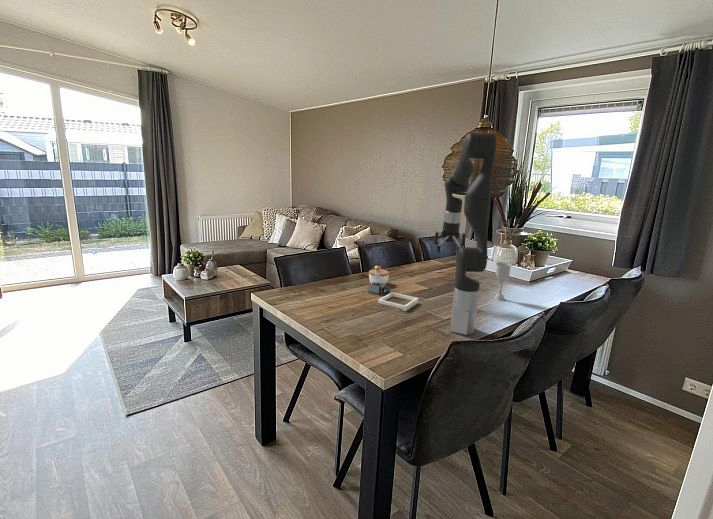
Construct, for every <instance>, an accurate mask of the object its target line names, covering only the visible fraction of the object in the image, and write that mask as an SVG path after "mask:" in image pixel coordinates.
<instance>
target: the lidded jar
mask: <svg viewBox="0 0 713 519" xmlns="http://www.w3.org/2000/svg"><path fill="white" fill-rule="evenodd" d="M389 275H390V271H388V270H386V269H382V268H381V269H380V279H379V283H383V284H385V285H387V283H388V281H389ZM368 280H369V282H370V284H371V283H373V282H375V269H374V268H373V269H370V270H368Z"/></svg>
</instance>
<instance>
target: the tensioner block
mask: <svg viewBox="0 0 713 519" xmlns="http://www.w3.org/2000/svg"><path fill="white" fill-rule="evenodd" d="M391 292H393V293H395V292H394V291H392V290H391V287H390V285H386V284H383V283H379V285H374V282H373V283H371V282H370V283H369V284H368V290H367V291H364V293H366V294H369V295H373V296H379V297H381V298H382V297H384V296H386V295H388V294H390V293H391Z"/></svg>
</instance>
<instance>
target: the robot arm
mask: <svg viewBox="0 0 713 519" xmlns="http://www.w3.org/2000/svg"><path fill="white" fill-rule="evenodd" d="M496 151H497V136H496V134H494V132H476V131H475V132H469V133H468V134H466V136H465V138H464V140H463V143H462V148H461V151H460V156H459V160H458V163H457V167H456V168H455V170H454V172H453V175H452V176H449V177H447V178H446V179H445V181H444V190H445V198H446V206H445V211H444V215H443V224H442V230H441V231H438V230H436V231H435V232H434V237H433V244H434V245H436V251H437V253H438V254H440V253H441V245H442V244H443V243H445V242H451V243H455V244H456V249H455V255H456V258H455V274H454V290H453V295H452V296H453V298H452V305H451V306H452V309H451V318H450V332H453V333H457V334H460V335H464V336H467V335H471V334H473V333H474V332H475V328H476V319H477V311H478V303H479V293H480V282H479V281H478V280H476V279H474V278H471V277H469V276H467V274H466V273H467V272H469V273H471V272H472V273H483V272H485V270H486V269H487V265H488V264H487V263H488V230H489V229H488V228H489V220H490V210H491V200H492V199H491V198H492V197H491V196H492V195H491V194H492V179H493V170H494V165H495V158H496ZM472 159H473V160H474V159H477V160H479V159H480V160H483V161H482V166H481V169H480V172H479V173H478V175H477V176H476V178H475V180H473V182H472V183H471V185H470V179H471V178H472V176H473V174H474V170H475V166H474V163H473V161H472ZM464 193H465V195H464V204H463V200H462V199H461V198H460V197H456V196H453V194H464ZM462 209H463V213H464V217H465V219H466V220H467V222H468V224H469V225H470V227H471V229H472V231H473V234H474V236H475V241H476V247H467V246H466V238H467V236H466V233H465V232H462V233H460V227H461V220H462ZM440 236H441V238H440V239H439V240H438V238H439V237H440ZM459 237H460V239H461V242H459V240H458V238H459ZM465 246H466V247H465Z"/></svg>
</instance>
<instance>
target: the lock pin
mask: <svg viewBox="0 0 713 519" xmlns="http://www.w3.org/2000/svg"><path fill="white" fill-rule="evenodd" d="M373 269H375V282H374V285H379V279H380V269H382V267H381V265H375V266H374V267H373Z"/></svg>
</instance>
